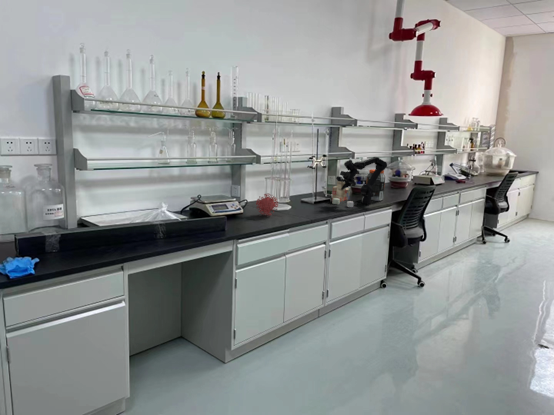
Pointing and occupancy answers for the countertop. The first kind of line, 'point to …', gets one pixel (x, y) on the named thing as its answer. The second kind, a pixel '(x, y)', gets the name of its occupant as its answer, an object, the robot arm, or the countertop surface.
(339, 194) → the beech block
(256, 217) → the countertop surface
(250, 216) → the countertop surface
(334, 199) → the sage cube
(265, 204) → the virus model
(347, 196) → the stack of blocks
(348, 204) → the grey cube
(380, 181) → the supplement tub
